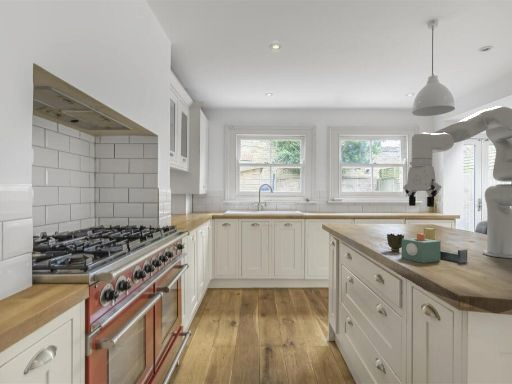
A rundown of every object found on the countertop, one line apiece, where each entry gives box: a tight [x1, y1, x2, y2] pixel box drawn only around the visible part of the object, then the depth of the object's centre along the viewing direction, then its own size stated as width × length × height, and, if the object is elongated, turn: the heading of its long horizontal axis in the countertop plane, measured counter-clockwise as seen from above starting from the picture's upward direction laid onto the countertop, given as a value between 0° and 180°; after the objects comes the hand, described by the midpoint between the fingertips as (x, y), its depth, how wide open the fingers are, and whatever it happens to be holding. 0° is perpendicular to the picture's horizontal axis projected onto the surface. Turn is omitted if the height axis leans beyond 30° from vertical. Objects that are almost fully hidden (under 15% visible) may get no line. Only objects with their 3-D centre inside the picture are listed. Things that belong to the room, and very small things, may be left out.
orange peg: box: [416, 233, 425, 241], centre depth 123 cm, size 3×3×8 cm
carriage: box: [423, 227, 436, 240], centre depth 131 cm, size 6×6×11 cm
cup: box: [386, 233, 405, 253], centre depth 139 cm, size 8×7×8 cm
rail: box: [440, 248, 468, 264], centre depth 127 cm, size 4×19×5 cm, turn 24°
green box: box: [401, 237, 441, 264], centre depth 123 cm, size 10×10×8 cm
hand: (421, 205), depth 123 cm, fingers open, 7 cm apart
